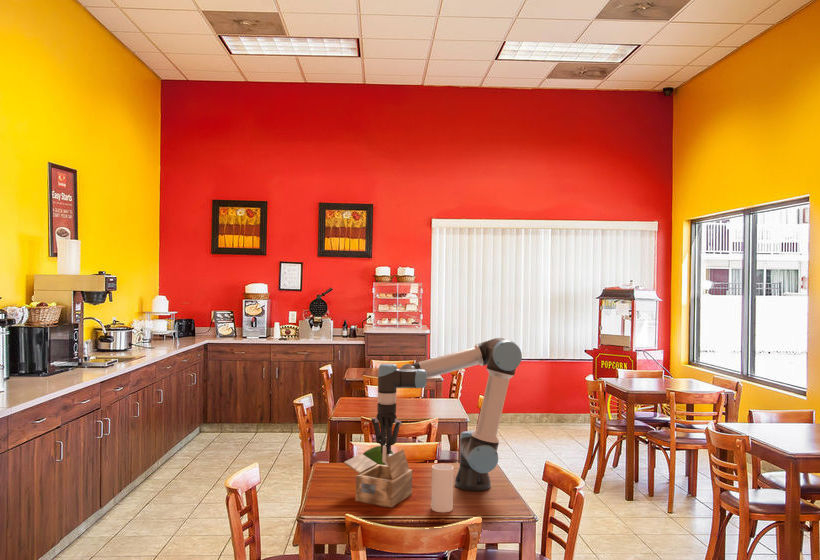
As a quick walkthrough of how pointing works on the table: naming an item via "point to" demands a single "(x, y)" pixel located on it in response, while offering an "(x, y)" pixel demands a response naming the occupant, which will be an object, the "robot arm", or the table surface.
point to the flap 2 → (397, 463)
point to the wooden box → (383, 486)
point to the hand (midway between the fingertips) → (385, 461)
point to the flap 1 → (360, 463)
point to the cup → (442, 488)
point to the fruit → (375, 455)
